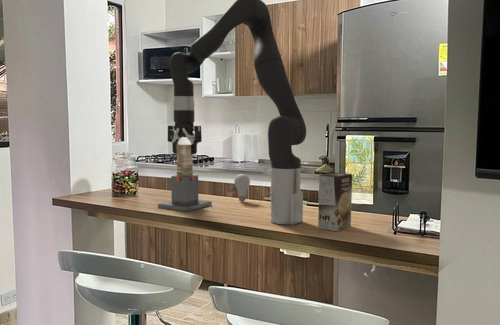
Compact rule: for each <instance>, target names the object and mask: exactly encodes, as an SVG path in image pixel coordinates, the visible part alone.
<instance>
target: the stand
mask: <svg viewBox="0 0 500 325" xmlns="http://www.w3.org/2000/svg"><path fill="white" fill-rule="evenodd" d="M170 177H171V178H170V180H171V182H170V183H171V184H170V186H171V188H170V189H171V200H167V201H163V202H159V203H157V208H158V209H164V210H165V209H166V210H173V211H180V212H181V211H182V212H187V213H189V212H193V211H195V210H196V211H197V210H200V209H203V208H207V207H211V206H212V205H213V202H212V201H211V200H205V199H204V200H203V199H199V175H198V174H197V175H196V174H193V176H188V177H181V176H177V174H175V175H171V176H170Z"/></svg>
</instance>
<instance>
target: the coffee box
mask: <svg viewBox="0 0 500 325" xmlns="http://www.w3.org/2000/svg"><path fill="white" fill-rule="evenodd" d="M318 181H319V182H318V215H317V217H318V222H317V223H318V224H317V225H318V227H317V228H318V229H320V230H325V231H326V230H327V231H333V232H338V231H342V230H344V229H346V228H347V229H348V228H349V227H352V226H351V225H352V203H353V202H352V200H353V198H352V196H353V194H352V193H353V174H352V173H346V172H345V173H342V172H333V173H332V172H331V173H324V174H319V180H318Z"/></svg>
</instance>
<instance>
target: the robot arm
mask: <svg viewBox="0 0 500 325" xmlns="http://www.w3.org/2000/svg"><path fill="white" fill-rule="evenodd" d="M270 16H271V15H270V10H269V8H268V5H267V4H266V3H265V2H264V1H263V0H235V1H234V2H233V3H232V4H231V5H230V7H228V9H227V10H226V11H225V12H224V13H223V14H222V15H221V17H220V18H219V19H218V20H217V21H216V22H215V23H214V24H213V25H212V27H210V29H208V30H207V31H206V32H205V33H203V34H202V35H200V36H199V37H198V38H197V39H196V40H195V41H193V42H192V43H191V45H190V48H189V50H190V52H188V53H184V52H180V51H179V52H175V53H172V55H171V57H170V58H169V65H168V66H169V70H170V75H171V80H172V83H173V104H172V105H173V122H174V125H167V142H168V143H171V144H172V152H173V154H176V155H177V145H179V141H180V140H181V139H182V138H187V140H188V141H189V143H190V145H191V155H192V156H193V155H197V153H198V144H199V143H202V126H201V125H194V123H195V121H196V120H195V99H194V83H193V81H192V80H190V79H189V78H188V75H189V74H192V73H194V72H196V71H197V70H198V69H199V68H200V66H201V65H202V64H203V63H204V62H205V60H206V59H207V58H209V57H210V56H212V55H213V54H214V53H216V52H217V51H218V50H219V49H220V48H221V46H222V45H223V44H224V41H225V39H226V38H227V36H228V35H229V33H230V32H231V31H232V30H234V29H235V28H237V27H238V26H239V25H242V24H243V25H245V26H247V27H248V28H249V31H250V33H251V35H252V39H253V42H254V52H253V53H254V54H253V66H254V71H255V75H256V77H257V81H258V83H259V85H260V87H261V88H262V89H263V91H264V93H266V94H267V96H268V97H269V99H270V100H272V102H273V103H274V104H275V107H276V109H277V111H278V114H279V115H277V116H275V117H273V118H272V119H271V120H270V122H269V124H268V130H267V144H268V156H269V161H270V163H271V165H270V166H271V167H270V222H271V223H273V224H277V225H297V224H299V223H301V222H303V219H304V217H303V216H304V213H303V211H304V210H303V209H304V203H303V202H304V192H303V191H301V182H302V181H301V180H302V178H301V175H302V174H301V173H302V170H301V167H302V161H301V159H300V157H298V156H296V155H295V154H294V152H293V149H292V146H297V145H301V144H302V143H303V142H304V141H305V139H306V137H307V127H306V123H305V120H304V118H303V115H302V113H301V111H300V107H299V106H298V104H297V102H296V99H295V96H294V93H293V91H292V87H291V84H290V81H289V78H288V74H287V70H286V68H285V65H284V61H283V59H282V58H283V57H282V56H281V53H280V50H279V47H278V43H277V41H276V37H275V34H274V30H273V25H272V20H271V17H270Z"/></svg>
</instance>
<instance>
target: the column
mask: <svg viewBox="0 0 500 325" xmlns="http://www.w3.org/2000/svg"><path fill="white" fill-rule="evenodd" d="M176 175H177V176H181V177H188V176H193V175H194V172H193V155H191V144H189V143H188V144H186V143H185V144H182V143H181V144H178V145H177V154H176Z"/></svg>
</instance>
